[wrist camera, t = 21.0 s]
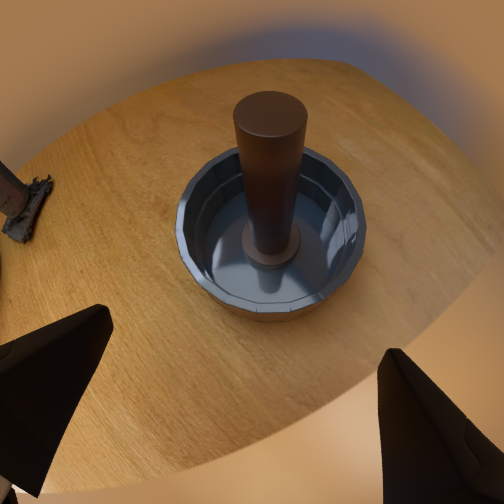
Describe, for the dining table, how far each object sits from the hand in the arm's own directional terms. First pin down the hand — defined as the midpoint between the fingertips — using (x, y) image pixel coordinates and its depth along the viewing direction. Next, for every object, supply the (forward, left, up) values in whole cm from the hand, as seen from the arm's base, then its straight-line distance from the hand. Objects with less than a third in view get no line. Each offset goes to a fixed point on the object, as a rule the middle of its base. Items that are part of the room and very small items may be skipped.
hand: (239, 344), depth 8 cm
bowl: (+4, -7, -13) cm, 15 cm away
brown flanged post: (+4, -7, -12) cm, 14 cm away
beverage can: (+31, +6, -13) cm, 34 cm away
